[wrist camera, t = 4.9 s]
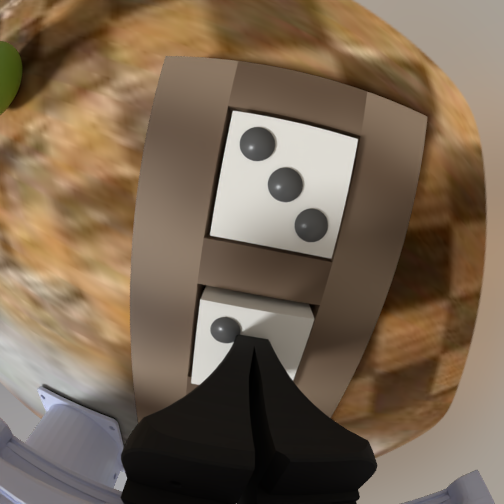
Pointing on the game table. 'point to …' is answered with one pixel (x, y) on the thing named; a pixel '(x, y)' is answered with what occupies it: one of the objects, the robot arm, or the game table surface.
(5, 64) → the snail figurine
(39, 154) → the game table surface
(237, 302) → the tile two pips
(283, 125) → the tile three pips
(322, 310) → the key board
